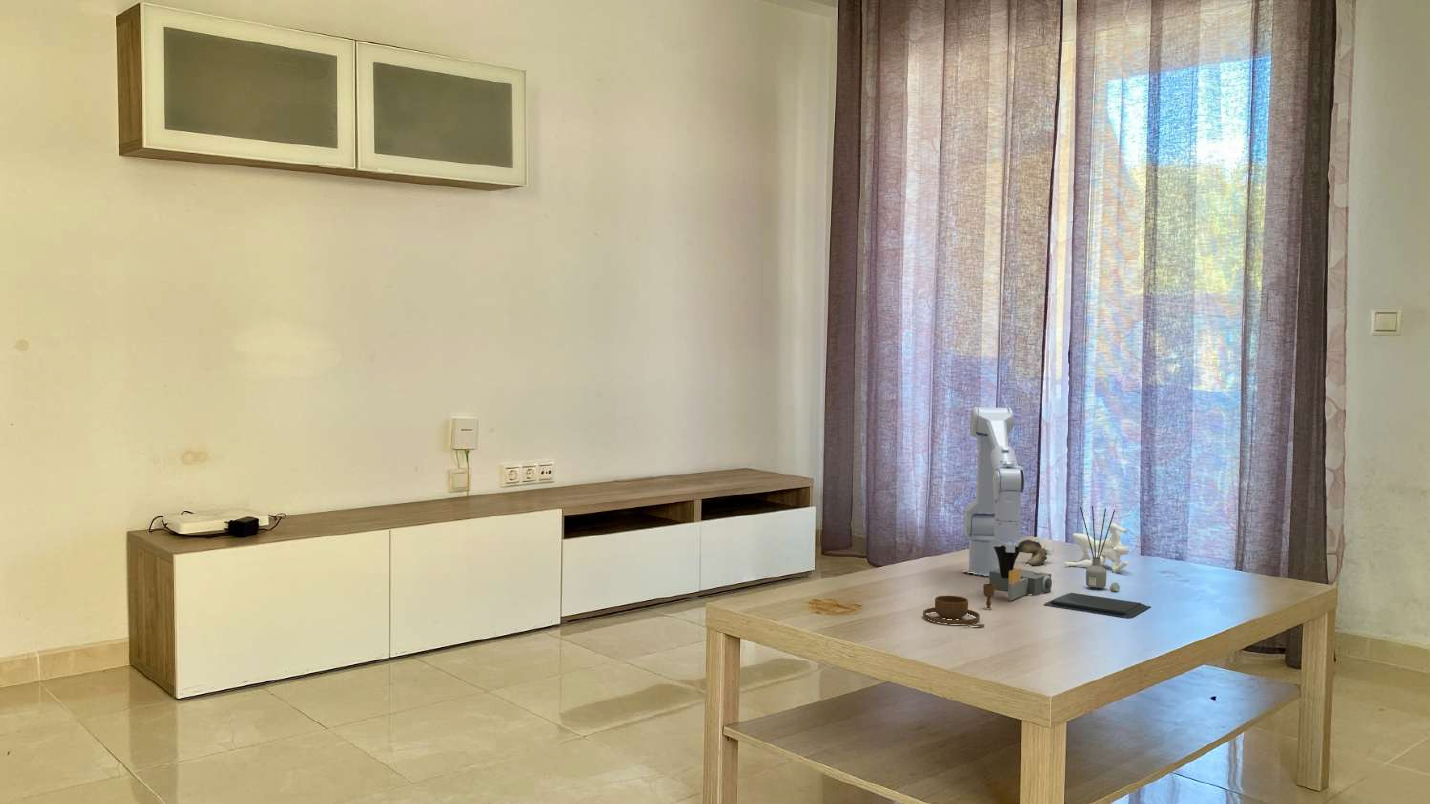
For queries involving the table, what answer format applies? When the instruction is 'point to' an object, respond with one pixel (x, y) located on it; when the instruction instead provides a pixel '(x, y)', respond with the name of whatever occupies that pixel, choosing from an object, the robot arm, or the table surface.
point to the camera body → (1035, 578)
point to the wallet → (1098, 605)
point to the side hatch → (1017, 584)
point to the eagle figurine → (1035, 551)
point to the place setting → (958, 608)
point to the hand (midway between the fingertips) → (1006, 578)
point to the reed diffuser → (1098, 563)
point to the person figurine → (1110, 550)
